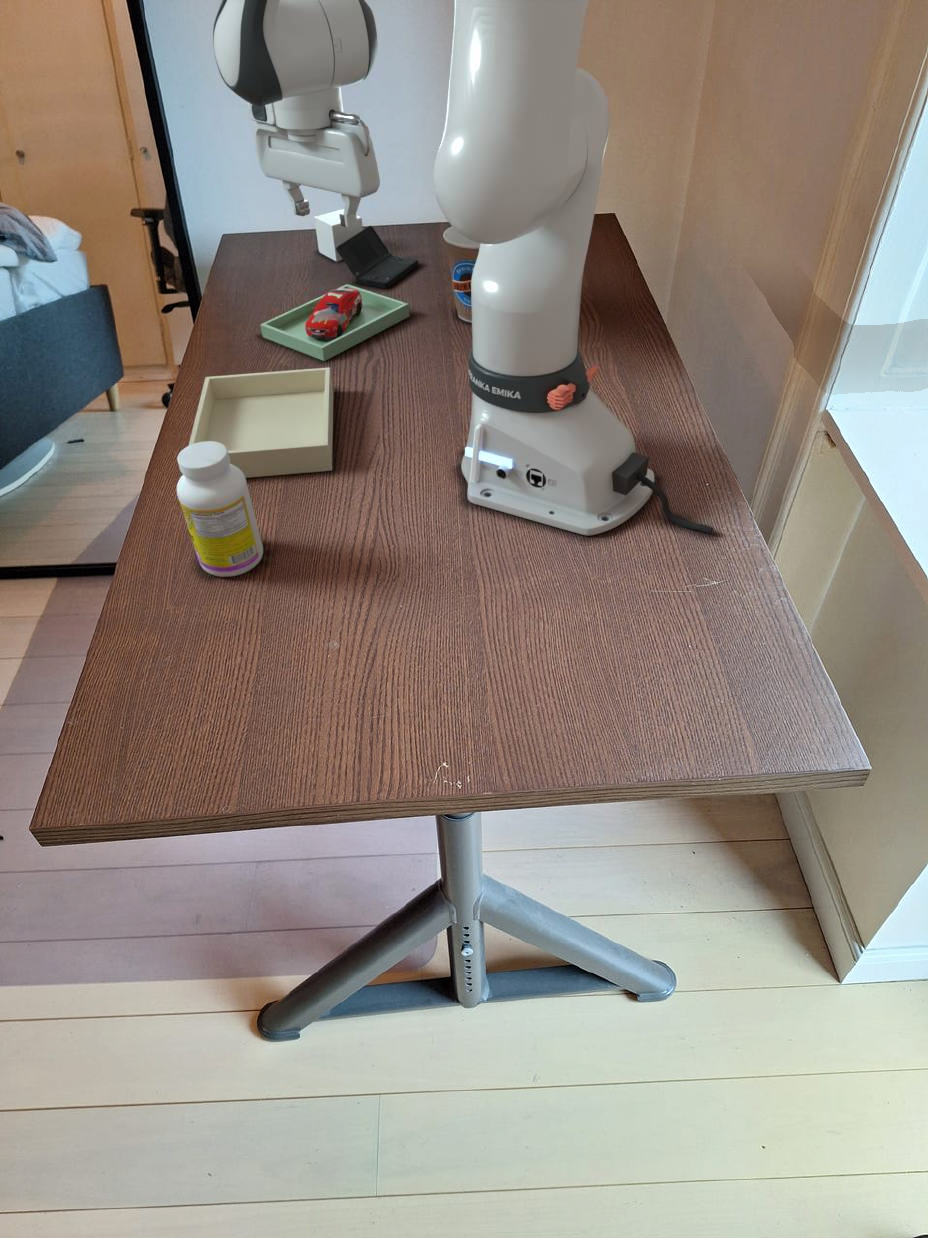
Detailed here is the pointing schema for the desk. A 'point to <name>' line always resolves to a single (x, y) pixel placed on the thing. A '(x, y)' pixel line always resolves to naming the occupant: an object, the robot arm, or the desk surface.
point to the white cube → (333, 233)
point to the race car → (334, 313)
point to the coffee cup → (461, 269)
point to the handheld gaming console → (373, 260)
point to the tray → (371, 321)
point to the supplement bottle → (218, 510)
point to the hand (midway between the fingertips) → (325, 220)
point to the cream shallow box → (269, 420)
